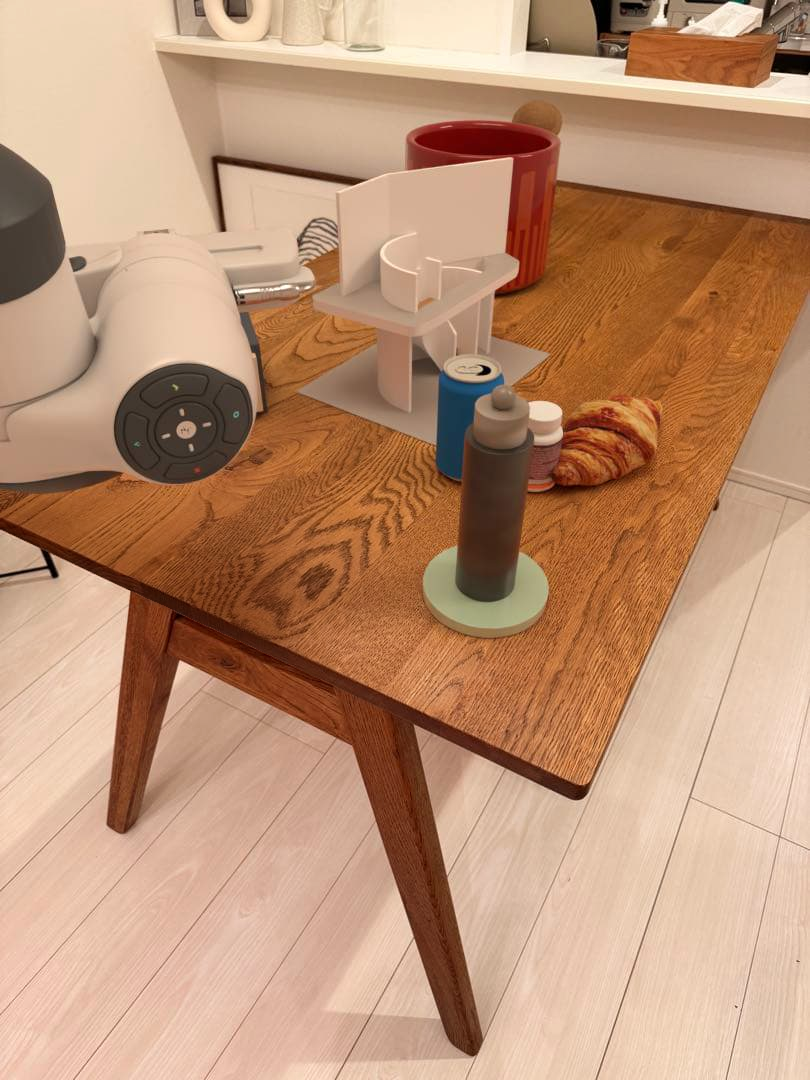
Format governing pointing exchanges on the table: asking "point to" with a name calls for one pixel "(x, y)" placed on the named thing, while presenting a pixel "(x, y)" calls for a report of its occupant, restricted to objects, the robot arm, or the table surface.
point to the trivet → (484, 616)
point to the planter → (529, 182)
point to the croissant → (607, 440)
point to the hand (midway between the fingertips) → (157, 239)
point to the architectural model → (420, 289)
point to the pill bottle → (544, 443)
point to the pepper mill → (493, 495)
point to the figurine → (539, 116)
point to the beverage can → (461, 405)
